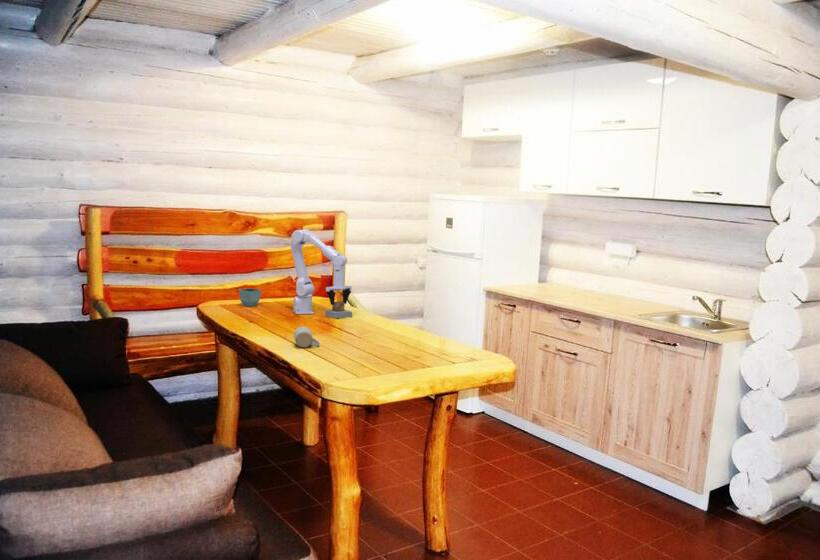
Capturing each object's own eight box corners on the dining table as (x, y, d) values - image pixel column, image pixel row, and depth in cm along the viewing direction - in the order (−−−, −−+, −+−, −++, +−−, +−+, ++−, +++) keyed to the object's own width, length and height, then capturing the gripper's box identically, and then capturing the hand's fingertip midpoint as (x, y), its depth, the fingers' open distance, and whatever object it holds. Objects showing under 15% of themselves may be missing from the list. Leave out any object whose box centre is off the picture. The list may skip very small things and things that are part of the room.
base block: (335, 319, 349) (335, 313, 348) (325, 315, 356) (325, 310, 356) (351, 317, 355) (351, 311, 355) (341, 314, 363) (341, 308, 362)
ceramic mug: (295, 348, 284) (295, 330, 283) (293, 344, 292) (294, 326, 290) (320, 348, 286) (321, 330, 285) (318, 344, 294) (319, 326, 293)
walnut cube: (337, 311, 352) (337, 303, 352) (332, 310, 356) (332, 301, 355) (344, 311, 355) (344, 302, 354) (339, 309, 359) (339, 301, 358)
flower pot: (261, 305, 378) (261, 289, 376) (249, 307, 370) (250, 291, 369) (250, 303, 382) (250, 288, 381) (238, 305, 375) (238, 289, 374)
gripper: (331, 280, 345) (330, 306, 347) (355, 278, 354) (354, 304, 356) (324, 278, 351) (323, 304, 353) (347, 276, 360) (347, 302, 362)
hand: (338, 304), depth 355 cm, fingers open, 7 cm apart
